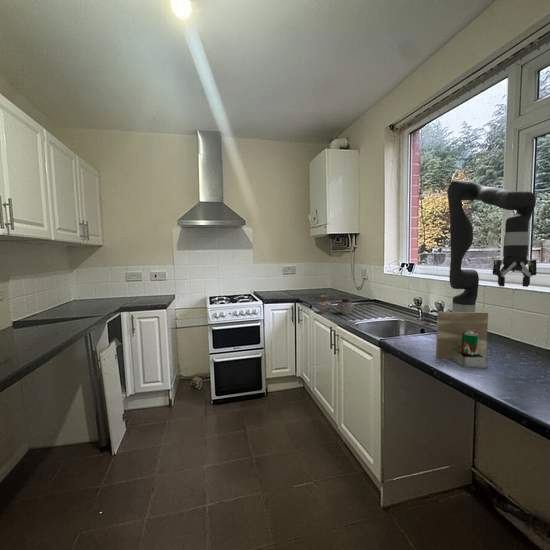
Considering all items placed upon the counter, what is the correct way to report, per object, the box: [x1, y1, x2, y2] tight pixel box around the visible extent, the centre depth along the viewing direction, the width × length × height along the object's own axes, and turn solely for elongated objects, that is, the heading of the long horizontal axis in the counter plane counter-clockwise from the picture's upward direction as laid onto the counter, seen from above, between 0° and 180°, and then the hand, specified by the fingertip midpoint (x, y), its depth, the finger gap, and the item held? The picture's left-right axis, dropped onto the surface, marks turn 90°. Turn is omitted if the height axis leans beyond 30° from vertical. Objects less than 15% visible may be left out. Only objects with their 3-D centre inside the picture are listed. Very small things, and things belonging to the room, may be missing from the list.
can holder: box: [449, 349, 488, 369], centre depth 114 cm, size 10×8×4 cm
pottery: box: [316, 294, 355, 316], centre depth 205 cm, size 11×25×12 cm, turn 77°
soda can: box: [461, 330, 478, 357], centre depth 113 cm, size 5×5×12 cm
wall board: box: [435, 311, 489, 359], centre depth 119 cm, size 2×18×18 cm, turn 84°
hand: (513, 286), depth 118 cm, fingers open, 8 cm apart
